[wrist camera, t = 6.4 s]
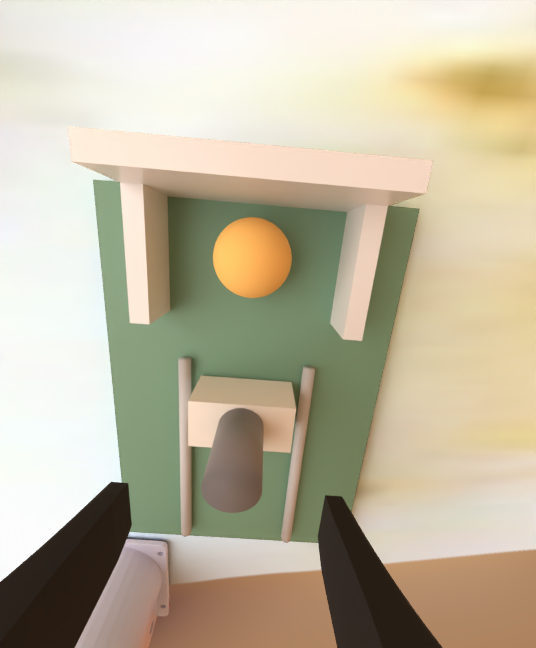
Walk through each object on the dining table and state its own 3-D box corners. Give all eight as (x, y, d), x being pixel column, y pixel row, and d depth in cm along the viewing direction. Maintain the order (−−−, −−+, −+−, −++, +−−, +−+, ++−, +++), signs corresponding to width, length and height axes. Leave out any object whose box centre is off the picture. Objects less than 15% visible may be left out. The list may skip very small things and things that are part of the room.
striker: (287, 420, 18) (297, 520, 12) (200, 414, 18) (161, 512, 12) (291, 382, 18) (306, 466, 11) (201, 375, 17) (159, 456, 11)
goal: (345, 324, 17) (386, 365, 11) (153, 309, 16) (92, 343, 11) (367, 194, 15) (433, 160, 9) (148, 174, 14) (67, 126, 9)
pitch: (340, 531, 23) (346, 555, 21) (132, 519, 23) (121, 542, 21) (410, 211, 16) (427, 206, 14) (103, 183, 15) (83, 175, 14)
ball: (290, 234, 16) (284, 302, 16) (222, 228, 15) (217, 296, 16) (300, 207, 12) (292, 299, 12) (208, 199, 11) (202, 292, 12)
